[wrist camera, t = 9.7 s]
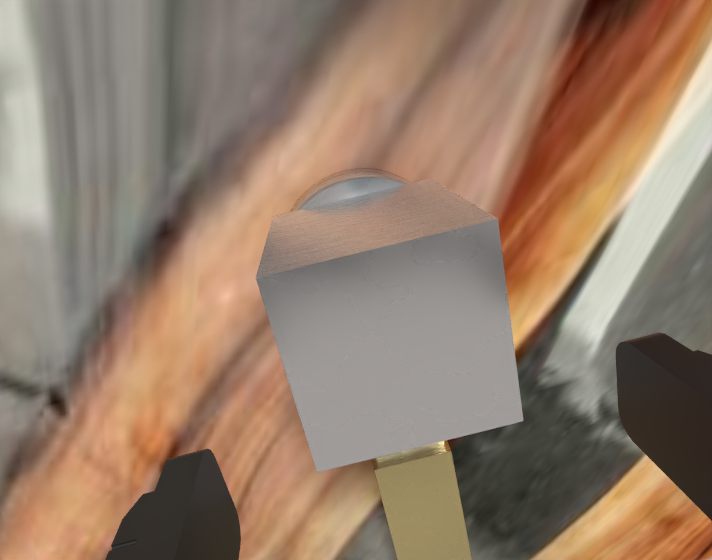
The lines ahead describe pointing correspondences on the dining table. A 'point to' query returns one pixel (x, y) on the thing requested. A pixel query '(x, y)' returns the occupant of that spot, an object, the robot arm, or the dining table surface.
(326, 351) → the brushed steel cube
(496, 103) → the dining table surface
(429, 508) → the ratchet
